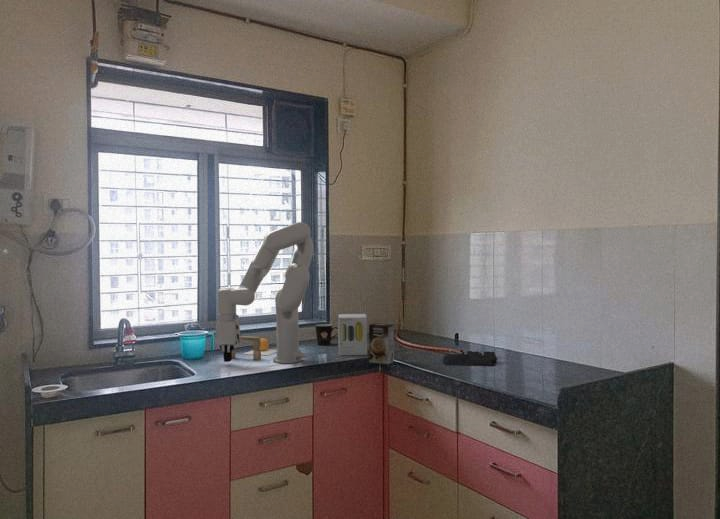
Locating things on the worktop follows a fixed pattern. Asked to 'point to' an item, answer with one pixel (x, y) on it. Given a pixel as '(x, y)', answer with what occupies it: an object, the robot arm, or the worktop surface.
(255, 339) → the bridge
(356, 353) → the supplement box
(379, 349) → the coffee box
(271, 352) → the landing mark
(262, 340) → the ball
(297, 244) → the robot arm
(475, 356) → the dark slate chunk
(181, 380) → the worktop surface
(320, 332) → the coffee mug
